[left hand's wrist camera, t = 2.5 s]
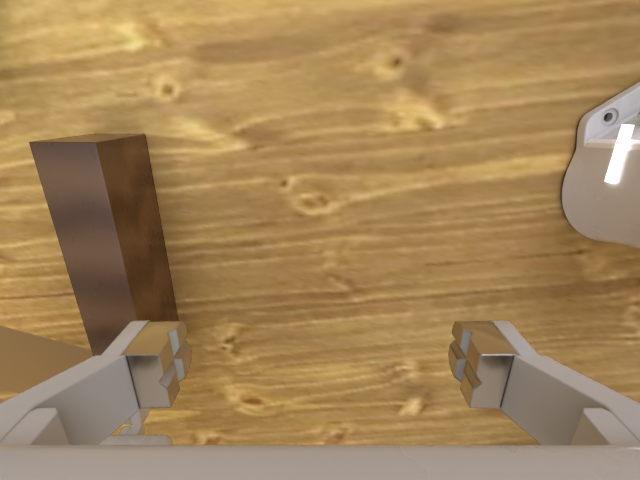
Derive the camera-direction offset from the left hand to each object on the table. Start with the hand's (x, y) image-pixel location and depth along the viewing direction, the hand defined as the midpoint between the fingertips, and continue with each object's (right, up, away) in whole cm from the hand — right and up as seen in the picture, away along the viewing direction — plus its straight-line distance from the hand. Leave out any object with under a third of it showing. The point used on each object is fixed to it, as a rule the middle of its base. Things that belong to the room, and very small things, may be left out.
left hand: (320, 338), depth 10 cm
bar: (-21, +2, +30) cm, 36 cm away
